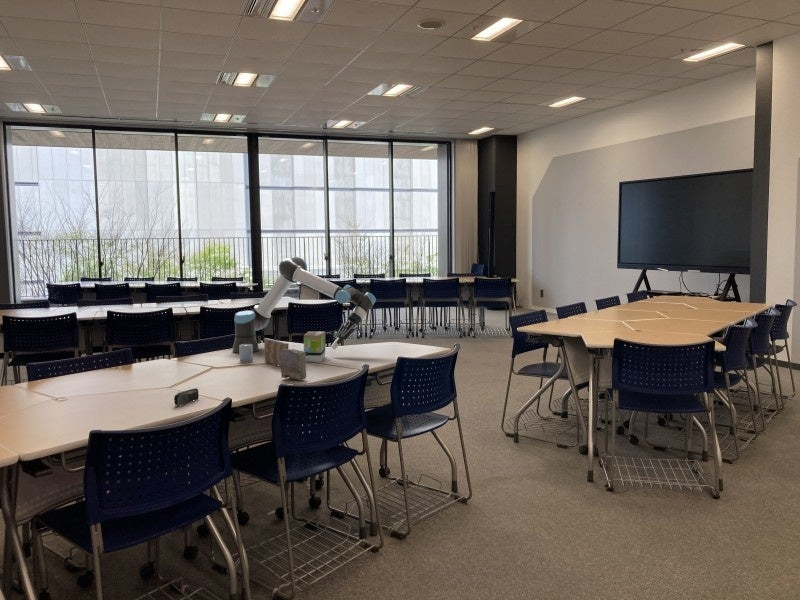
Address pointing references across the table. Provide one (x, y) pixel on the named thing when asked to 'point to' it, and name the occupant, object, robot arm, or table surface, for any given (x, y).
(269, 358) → the board
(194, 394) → the dark grey elongated bar
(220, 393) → the table surface
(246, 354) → the grey capsule cylinder
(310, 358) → the tea box
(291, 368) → the geological specimen
